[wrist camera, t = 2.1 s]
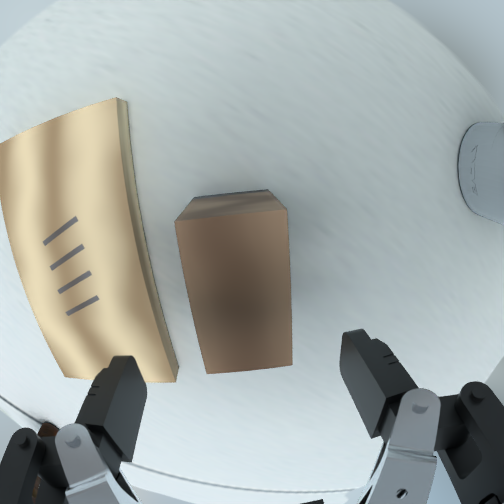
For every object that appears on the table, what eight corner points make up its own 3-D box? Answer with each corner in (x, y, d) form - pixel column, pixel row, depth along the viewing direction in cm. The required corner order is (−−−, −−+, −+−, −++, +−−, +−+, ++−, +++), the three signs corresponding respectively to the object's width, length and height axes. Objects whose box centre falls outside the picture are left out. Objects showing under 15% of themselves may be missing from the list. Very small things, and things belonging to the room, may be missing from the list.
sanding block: (268, 189, 19) (287, 209, 12) (276, 305, 22) (292, 365, 16) (194, 197, 19) (174, 221, 12) (212, 312, 22) (206, 373, 15)
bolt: (35, 410, 26) (-1, 485, 12) (64, 425, 27) (33, 506, 13) (41, 428, 28) (12, 497, 14) (68, 442, 29) (43, 514, 15)
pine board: (127, 101, 16) (116, 97, 14) (178, 367, 24) (175, 382, 22) (9, 145, 16) (-6, 146, 14) (72, 364, 23) (65, 377, 21)
